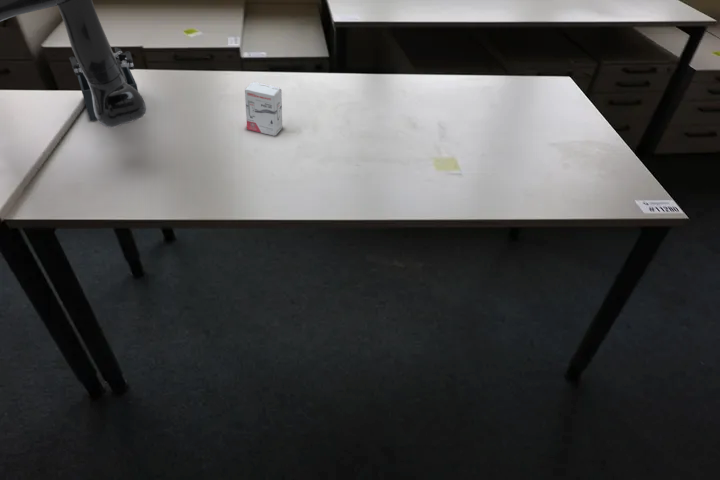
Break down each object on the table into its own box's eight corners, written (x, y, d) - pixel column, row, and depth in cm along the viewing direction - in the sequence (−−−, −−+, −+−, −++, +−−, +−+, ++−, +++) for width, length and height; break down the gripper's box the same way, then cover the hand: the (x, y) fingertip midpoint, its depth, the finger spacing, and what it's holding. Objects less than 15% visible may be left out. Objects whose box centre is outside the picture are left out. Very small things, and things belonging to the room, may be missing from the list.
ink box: (245, 129, 139) (242, 88, 131) (253, 121, 143) (251, 80, 135) (275, 136, 138) (274, 95, 130) (282, 128, 141) (282, 87, 133)
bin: (90, 120, 136) (81, 91, 131) (84, 99, 144) (75, 70, 139) (142, 113, 141) (136, 84, 136) (133, 92, 150) (127, 64, 144)
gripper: (136, 58, 125) (124, 35, 135) (71, 65, 119) (64, 40, 129) (142, 88, 129) (130, 63, 140) (80, 95, 124) (72, 69, 134)
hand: (98, 52), depth 135 cm, fingers open, 8 cm apart
